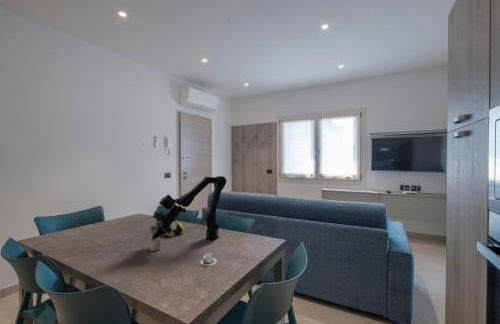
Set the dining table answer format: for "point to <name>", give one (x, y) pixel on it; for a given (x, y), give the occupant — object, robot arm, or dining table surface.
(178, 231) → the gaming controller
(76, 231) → the dining table surface
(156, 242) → the birch block
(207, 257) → the teacup and saucer
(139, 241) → the dining table surface
